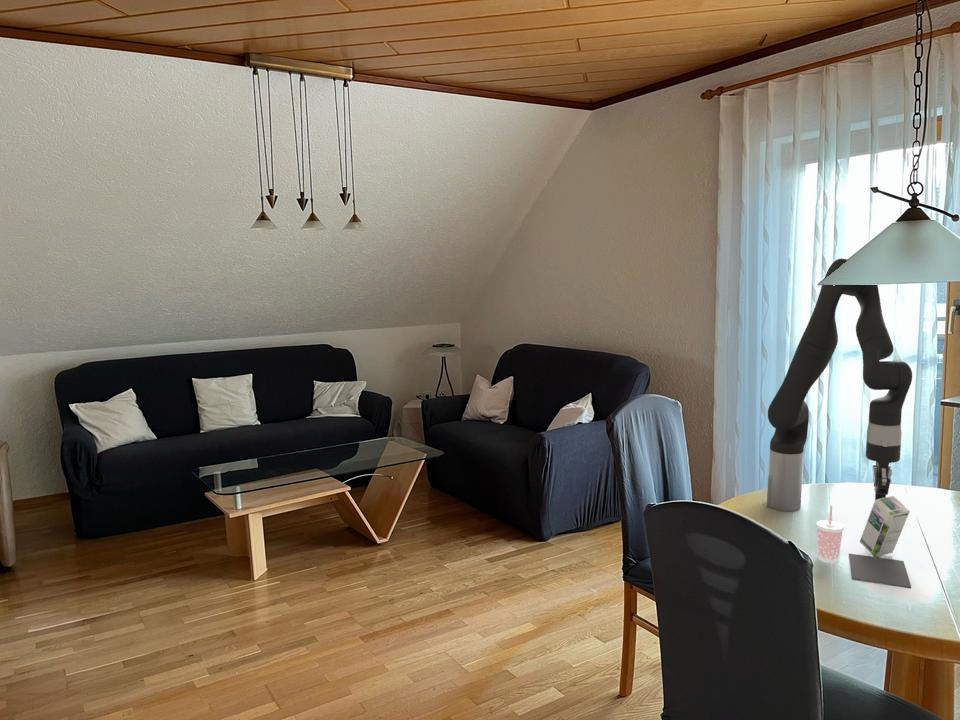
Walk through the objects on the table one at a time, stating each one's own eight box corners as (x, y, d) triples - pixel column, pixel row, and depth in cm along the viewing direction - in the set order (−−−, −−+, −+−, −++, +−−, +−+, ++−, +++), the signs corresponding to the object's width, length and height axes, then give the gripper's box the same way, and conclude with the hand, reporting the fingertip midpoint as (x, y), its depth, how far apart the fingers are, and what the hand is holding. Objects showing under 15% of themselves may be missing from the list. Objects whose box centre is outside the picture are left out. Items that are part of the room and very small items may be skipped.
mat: (851, 579, 171) (851, 577, 171) (848, 554, 185) (848, 553, 185) (911, 588, 166) (911, 586, 166) (903, 562, 180) (903, 560, 180)
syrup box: (858, 541, 187) (873, 499, 179) (878, 537, 188) (894, 494, 181) (873, 558, 183) (890, 515, 175) (894, 553, 184) (911, 510, 176)
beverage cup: (815, 552, 186) (818, 499, 184) (842, 556, 183) (845, 503, 181) (813, 561, 181) (816, 507, 179) (841, 566, 178) (844, 511, 176)
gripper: (864, 433, 190) (860, 498, 192) (868, 446, 178) (865, 514, 180) (897, 435, 187) (893, 501, 190) (904, 448, 175) (900, 518, 177)
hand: (879, 507), depth 185 cm, fingers closed
